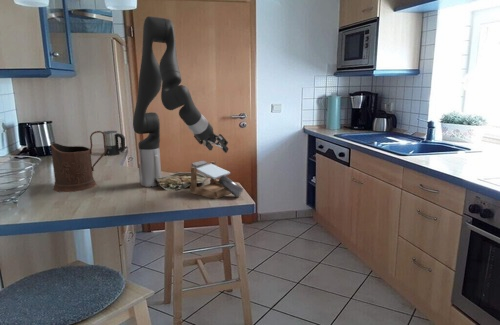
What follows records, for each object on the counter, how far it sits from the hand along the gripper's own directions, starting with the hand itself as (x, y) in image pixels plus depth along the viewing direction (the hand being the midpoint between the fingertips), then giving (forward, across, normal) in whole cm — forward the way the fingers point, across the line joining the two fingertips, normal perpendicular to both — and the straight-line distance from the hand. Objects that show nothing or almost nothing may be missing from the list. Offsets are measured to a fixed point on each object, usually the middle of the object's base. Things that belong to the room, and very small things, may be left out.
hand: (219, 149), depth 160 cm
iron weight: (+7, -3, +10) cm, 13 cm away
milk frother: (+31, +110, -4) cm, 115 cm away
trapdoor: (+6, +5, +8) cm, 12 cm away
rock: (+12, +21, +15) cm, 28 cm away
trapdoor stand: (+12, +3, +14) cm, 19 cm away
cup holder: (-7, +59, +34) cm, 69 cm away
